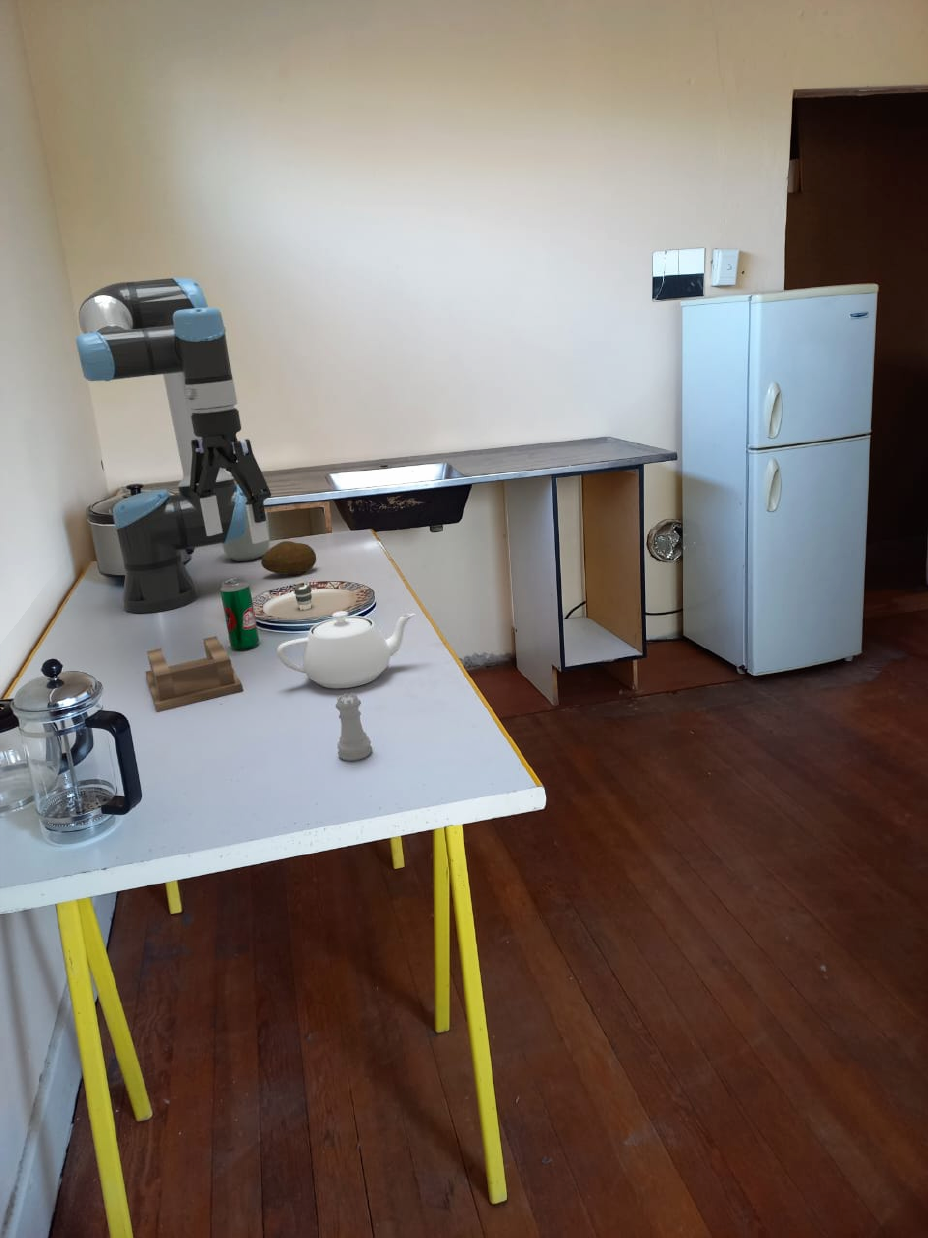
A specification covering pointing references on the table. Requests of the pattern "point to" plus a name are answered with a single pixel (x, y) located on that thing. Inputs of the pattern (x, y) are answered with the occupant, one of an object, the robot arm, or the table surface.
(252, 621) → the soda can
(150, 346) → the robot arm
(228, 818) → the table surface
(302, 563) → the potato
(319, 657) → the teapot
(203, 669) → the cradle
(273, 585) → the table surface
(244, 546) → the planter
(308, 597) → the coffee cup
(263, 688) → the table surface
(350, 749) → the rook chess piece
